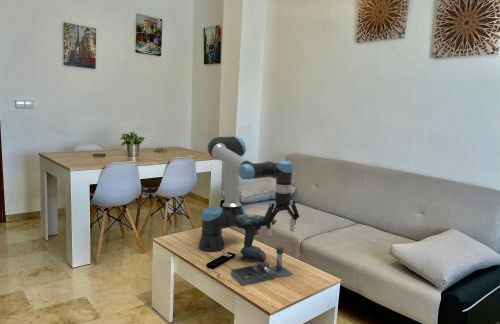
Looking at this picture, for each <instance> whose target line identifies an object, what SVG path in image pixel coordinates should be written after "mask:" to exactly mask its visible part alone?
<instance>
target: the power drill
mask: <svg viewBox="0 0 500 324" xmlns="http://www.w3.org/2000/svg"><path fill="white" fill-rule="evenodd" d="M264 217H265V215H264V216H263V215H259V214H244V215H237V216H236V218H235V224H236V227H237V228H238V229H243V230H244V231H245V234H244V241H243V247H242V248H241V249H240V253H241V254H242V255H241V257H240V261H242V262H243V261H245V262H252V263H254V262H255V263H257V262H260V263H262V262H266V260H267V255H266V253H265V252H264V250H262V249H261V248H260V247H259V246H257V245H256V246H255V245H253V243H254V238H255V236H257V235H259V234H260V233H259V230H261V229H262V227H267V222H265V221H263V219H264ZM276 222H277V223H278V220H276V218H274V219H273V220H272V221H271V223H272V226H274V225H275V224H276Z"/></svg>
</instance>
